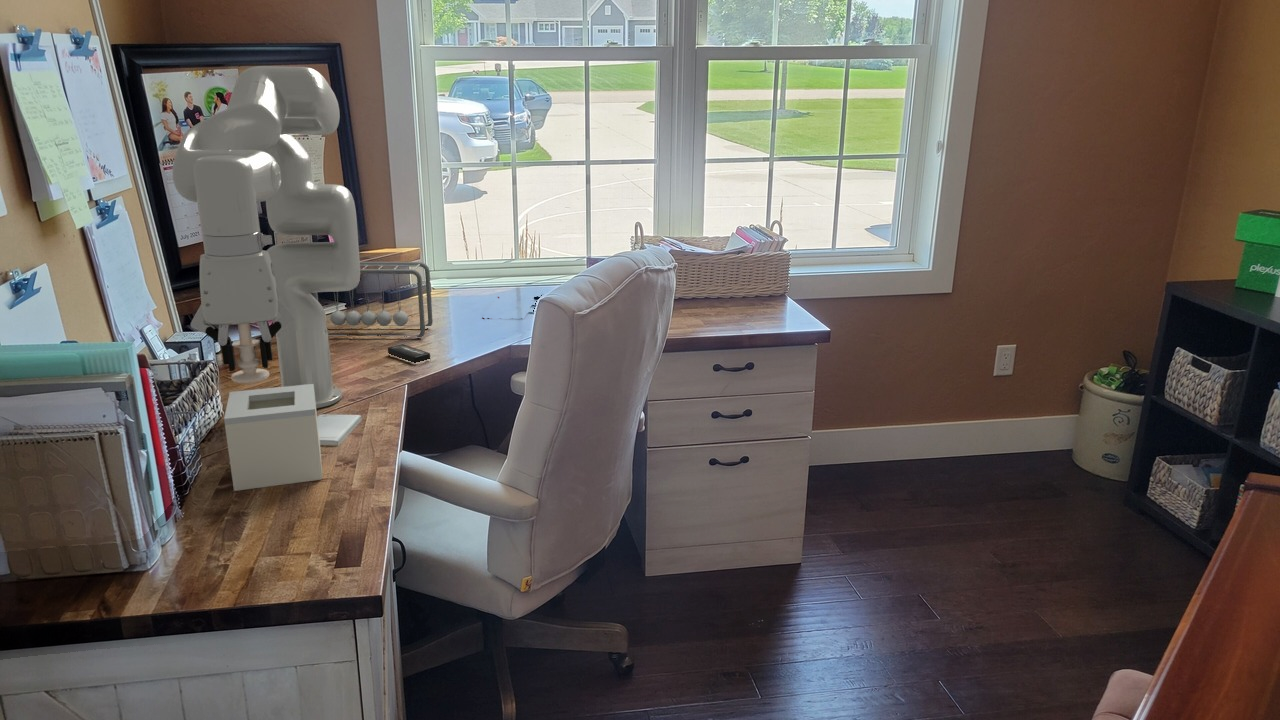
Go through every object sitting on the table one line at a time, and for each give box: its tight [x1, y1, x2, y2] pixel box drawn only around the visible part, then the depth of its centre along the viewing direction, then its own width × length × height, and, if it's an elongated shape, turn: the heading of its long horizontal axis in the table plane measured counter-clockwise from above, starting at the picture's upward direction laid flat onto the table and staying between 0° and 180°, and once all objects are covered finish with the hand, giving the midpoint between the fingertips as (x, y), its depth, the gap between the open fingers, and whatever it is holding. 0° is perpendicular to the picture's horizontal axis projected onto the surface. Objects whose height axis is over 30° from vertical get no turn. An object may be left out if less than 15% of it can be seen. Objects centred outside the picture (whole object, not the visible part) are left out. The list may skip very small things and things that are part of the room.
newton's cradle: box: [312, 261, 434, 338], centre depth 222 cm, size 30×10×18 cm, turn 91°
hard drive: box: [317, 413, 362, 447], centre depth 161 cm, size 2×8×12 cm
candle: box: [230, 323, 270, 384], centre depth 130 cm, size 5×5×10 cm
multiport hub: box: [387, 343, 431, 363], centre depth 204 cm, size 4×11×2 cm, turn 49°
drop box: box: [223, 384, 323, 492], centre depth 143 cm, size 13×13×12 cm
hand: (249, 365), depth 131 cm, fingers closed on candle, 3 cm apart
